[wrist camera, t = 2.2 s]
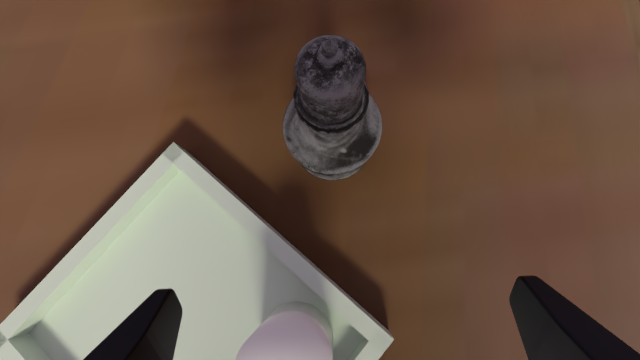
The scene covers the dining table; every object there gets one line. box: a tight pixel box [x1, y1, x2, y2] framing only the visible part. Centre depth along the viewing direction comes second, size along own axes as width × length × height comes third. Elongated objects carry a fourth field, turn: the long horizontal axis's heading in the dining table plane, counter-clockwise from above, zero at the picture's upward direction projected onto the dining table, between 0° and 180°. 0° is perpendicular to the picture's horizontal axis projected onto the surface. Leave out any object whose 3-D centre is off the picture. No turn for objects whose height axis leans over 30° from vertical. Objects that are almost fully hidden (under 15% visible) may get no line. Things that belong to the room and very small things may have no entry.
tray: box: [0, 142, 394, 360], centre depth 21 cm, size 18×16×2 cm
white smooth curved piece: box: [235, 302, 333, 360], centre depth 18 cm, size 4×4×6 cm
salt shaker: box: [283, 35, 382, 180], centre depth 18 cm, size 6×6×12 cm
